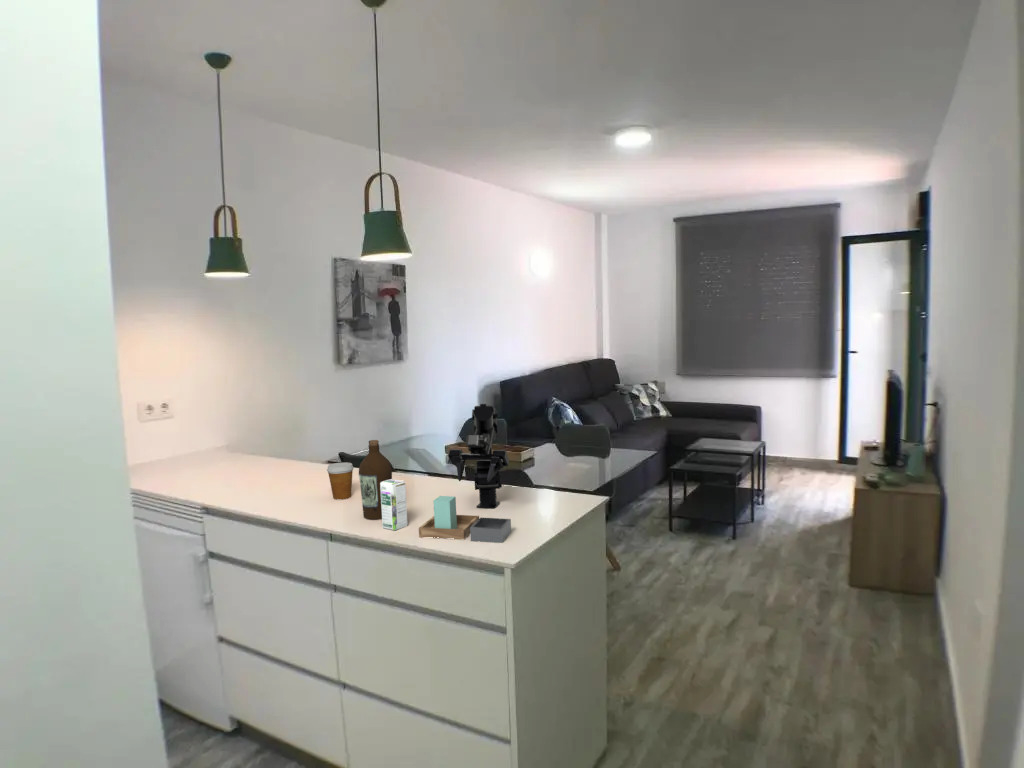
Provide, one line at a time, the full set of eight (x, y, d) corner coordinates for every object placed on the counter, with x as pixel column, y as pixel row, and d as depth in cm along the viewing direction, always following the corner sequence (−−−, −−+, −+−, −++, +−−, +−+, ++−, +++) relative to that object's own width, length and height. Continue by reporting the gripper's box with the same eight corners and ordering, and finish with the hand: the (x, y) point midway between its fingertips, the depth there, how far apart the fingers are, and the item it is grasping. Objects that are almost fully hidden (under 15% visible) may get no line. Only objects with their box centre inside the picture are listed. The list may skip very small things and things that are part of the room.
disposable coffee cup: (323, 498, 245) (321, 465, 244) (346, 492, 252) (344, 461, 251) (337, 502, 239) (335, 469, 237) (360, 496, 245) (358, 464, 244)
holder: (481, 530, 201) (480, 517, 201) (511, 532, 199) (510, 518, 198) (470, 541, 192) (470, 527, 192) (502, 542, 190) (501, 529, 189)
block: (441, 528, 202) (439, 495, 201) (457, 529, 201) (455, 496, 200) (435, 533, 197) (433, 500, 196) (451, 534, 196) (449, 501, 195)
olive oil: (376, 509, 228) (371, 436, 225) (401, 512, 223) (396, 438, 220) (354, 518, 219) (349, 442, 216) (380, 522, 213) (375, 444, 211)
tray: (437, 522, 211) (436, 513, 210) (479, 524, 207) (479, 515, 206) (419, 537, 197) (418, 528, 197) (464, 539, 193) (463, 530, 193)
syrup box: (381, 528, 207) (378, 482, 206) (395, 523, 212) (392, 478, 211) (395, 531, 204) (392, 484, 202) (408, 525, 209) (405, 479, 207)
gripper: (448, 424, 212) (437, 466, 203) (505, 424, 207) (496, 467, 198) (458, 443, 221) (447, 485, 211) (512, 444, 215) (504, 486, 206)
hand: (473, 480), depth 206 cm, fingers open, 9 cm apart
